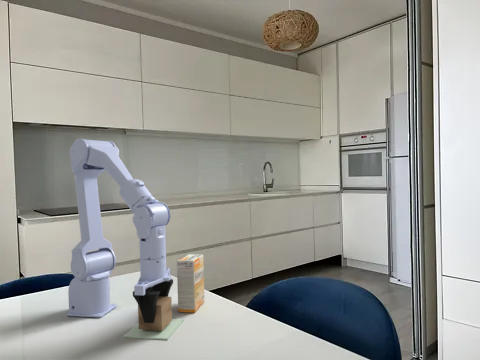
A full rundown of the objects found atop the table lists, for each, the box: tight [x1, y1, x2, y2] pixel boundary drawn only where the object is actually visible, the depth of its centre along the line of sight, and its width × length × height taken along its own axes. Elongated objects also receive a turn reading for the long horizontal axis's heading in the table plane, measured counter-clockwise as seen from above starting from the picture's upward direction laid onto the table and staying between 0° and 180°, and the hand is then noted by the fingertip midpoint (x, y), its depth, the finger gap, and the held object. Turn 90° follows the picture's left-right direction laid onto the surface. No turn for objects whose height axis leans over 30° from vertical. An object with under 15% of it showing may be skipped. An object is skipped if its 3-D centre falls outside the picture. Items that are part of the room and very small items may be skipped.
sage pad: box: [123, 318, 185, 341], centre depth 80 cm, size 10×10×1 cm
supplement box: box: [176, 253, 205, 314], centre depth 93 cm, size 8×5×13 cm, turn 168°
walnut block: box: [137, 296, 173, 331], centre depth 80 cm, size 6×6×6 cm
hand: (154, 317), depth 80 cm, fingers closed on walnut block, 5 cm apart
